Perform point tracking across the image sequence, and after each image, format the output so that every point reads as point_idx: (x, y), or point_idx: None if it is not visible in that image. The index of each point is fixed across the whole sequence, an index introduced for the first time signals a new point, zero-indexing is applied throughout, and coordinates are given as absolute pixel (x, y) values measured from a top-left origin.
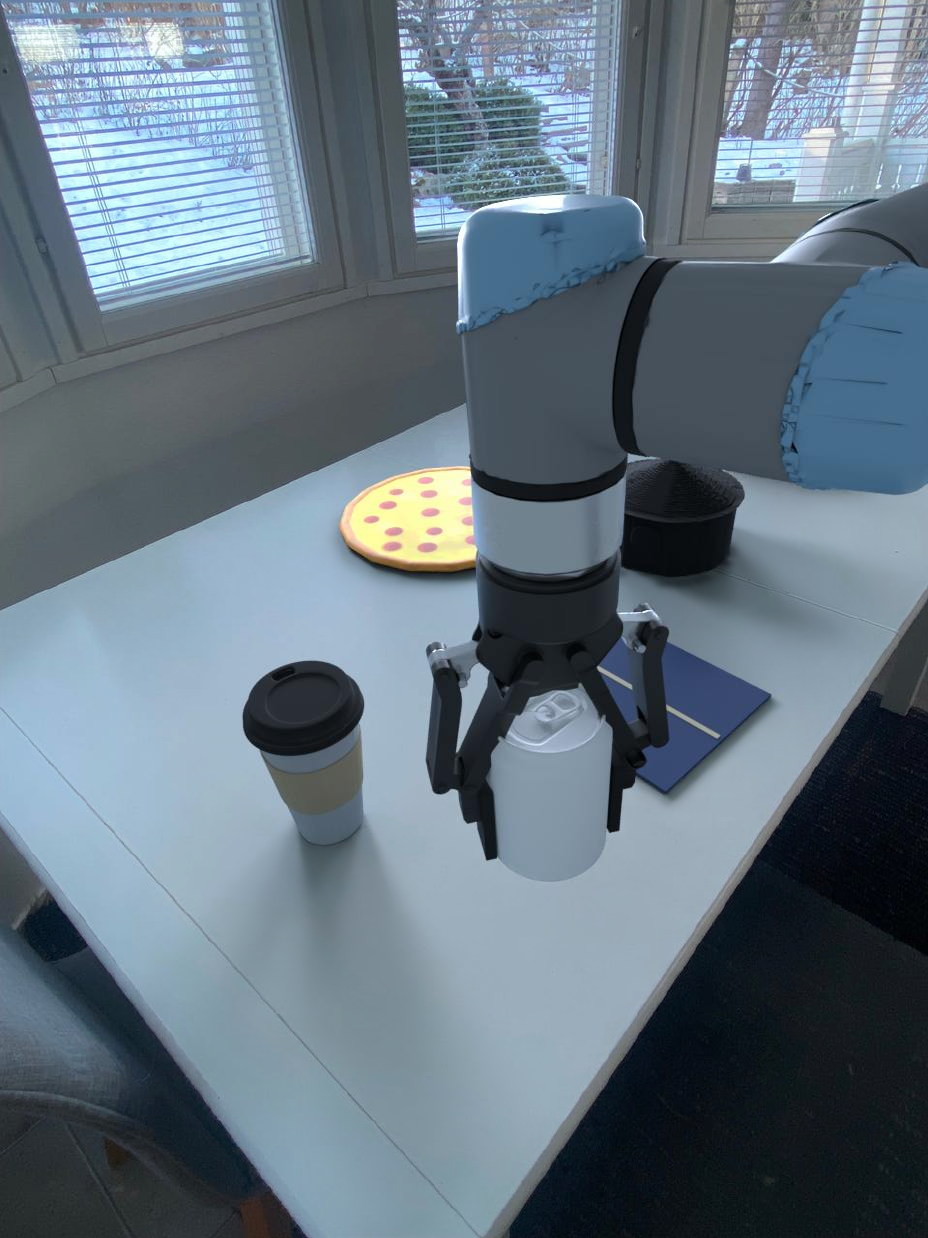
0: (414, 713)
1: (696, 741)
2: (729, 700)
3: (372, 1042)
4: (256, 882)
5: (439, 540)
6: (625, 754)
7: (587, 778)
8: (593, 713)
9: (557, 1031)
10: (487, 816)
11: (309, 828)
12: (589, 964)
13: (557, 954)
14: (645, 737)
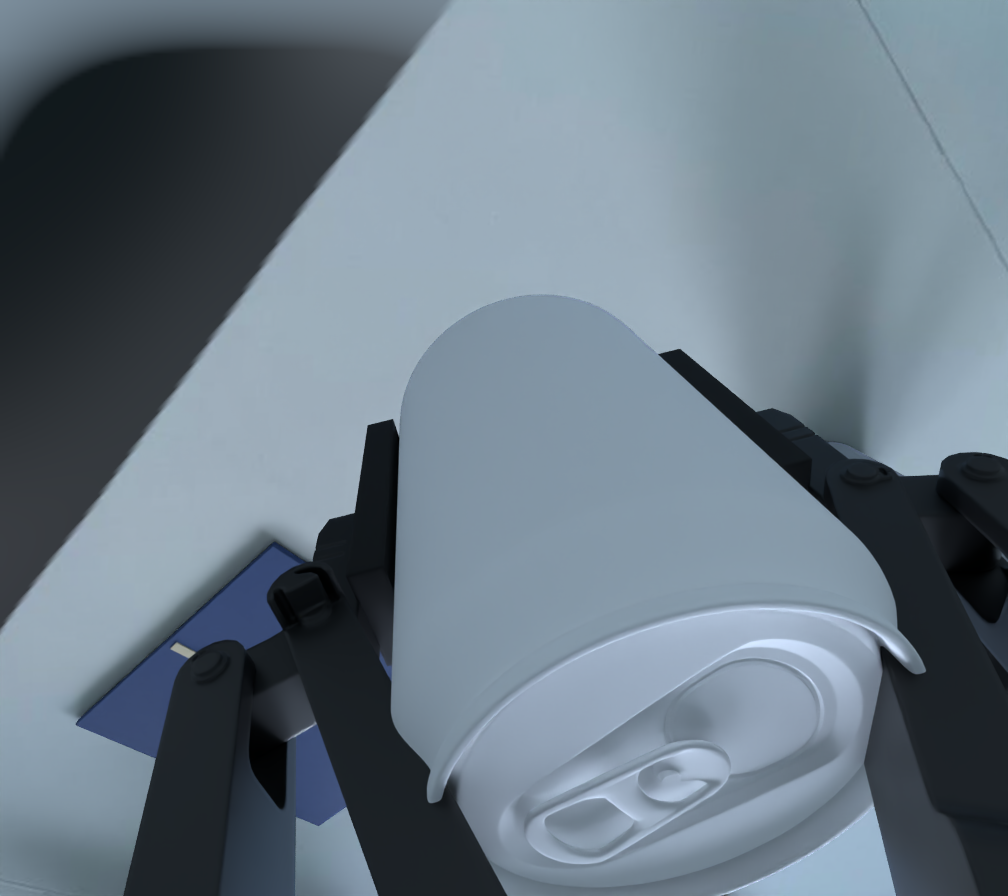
0: None
1: (213, 636)
2: (152, 709)
3: (807, 95)
4: (936, 380)
5: None
6: (342, 612)
7: (514, 503)
8: (475, 794)
9: (498, 101)
10: (744, 417)
11: (876, 461)
12: (430, 229)
13: (484, 249)
14: (265, 677)
